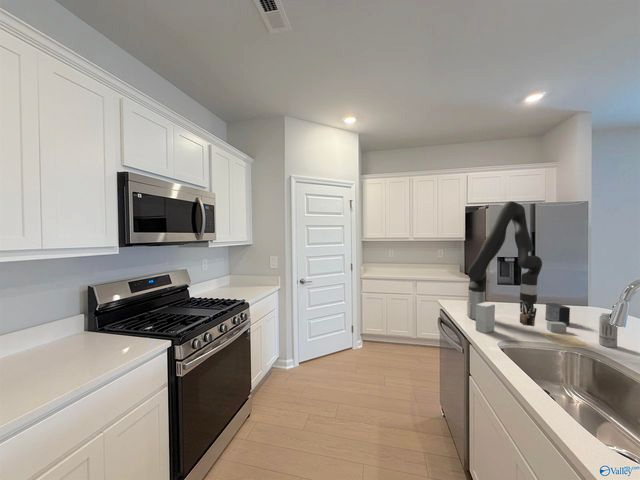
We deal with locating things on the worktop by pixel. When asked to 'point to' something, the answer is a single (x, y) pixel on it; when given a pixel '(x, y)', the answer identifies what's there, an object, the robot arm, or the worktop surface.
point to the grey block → (556, 327)
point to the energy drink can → (607, 332)
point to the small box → (557, 313)
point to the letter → (566, 340)
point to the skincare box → (485, 317)
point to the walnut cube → (524, 320)
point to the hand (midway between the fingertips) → (526, 323)
